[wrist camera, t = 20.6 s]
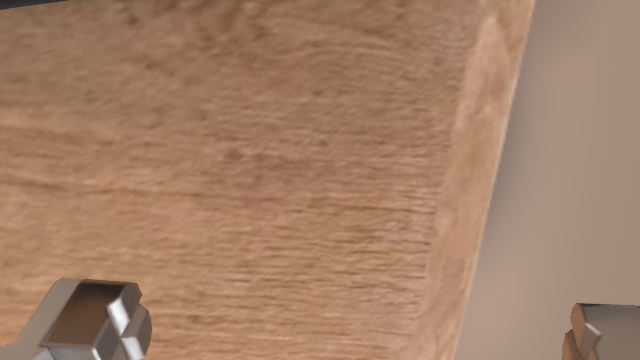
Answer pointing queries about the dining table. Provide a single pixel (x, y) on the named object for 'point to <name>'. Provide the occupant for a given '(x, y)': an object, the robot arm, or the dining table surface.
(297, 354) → the dining table surface
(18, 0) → the dock pad
